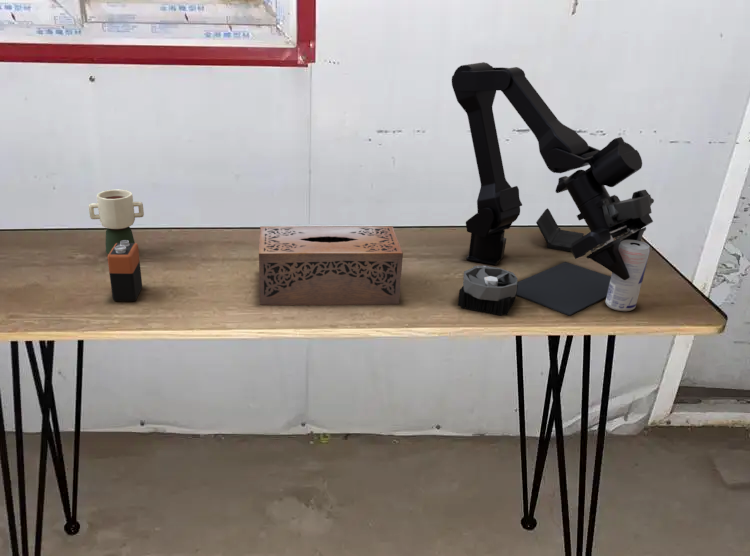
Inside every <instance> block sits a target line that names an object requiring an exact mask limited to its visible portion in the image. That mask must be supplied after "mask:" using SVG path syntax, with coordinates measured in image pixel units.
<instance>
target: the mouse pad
mask: <svg viewBox="0 0 750 556" xmlns="http://www.w3.org/2000/svg"><path fill="white" fill-rule="evenodd" d="M610 280H611V276H610V275H607V274H604V273H601V272H598V271H595V270H592V269H590V268H589V269H588V268H586V267H583V266H581V265H580V266H579V265H576V264H574V263H570V262H567V261H564V262H561V263H559V264H557V265H554V266H552V267H550V268H547V269H545V270H543V271H540V272H538V273H535V274H533V275H531V276H528V277H526V278H524V279H522V280H519V281H517V285H518V288H517V294H516V297H519V298H521V299H524V300H526V301H529V302H531V303H534V304H537V305H539V306H542V307H545V308H547V309H550V310H553V311H555V312H558V313H561V314H564V315H566V316H568V317H570V316H572V315H574V314H576V313H578V312H580V311H583V310H584V309H586V308H588V307H590V306H593V305H594V304H597V303H598V302H600V301H602V300H604V299H606V297H607V292H608V288H609V284H610Z"/></svg>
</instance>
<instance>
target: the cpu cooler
mask: <svg viewBox="0 0 750 556" xmlns="http://www.w3.org/2000/svg"><path fill="white" fill-rule="evenodd" d="M462 278H463V280H462V287H460V289H459V293H458V301H457V306H460V307H461V309H466V310H470V311H475V312H477V313H478V312H480V313H487V314H489V315H494V316H496V315H497V316H502V315H504V316H505V315H506V316H508V314H509V313H510V311H511V309H512V307H513V305H514V303H516V300H517V296H516V294H517V288H518V285H517V282H518V277H517V275H516V274H515V273H514V272H513V271H510V270H507V269H503V268H501V267H497V266H496V267H495V266H488V264H487V265H473V266H472V267H471V268H469V269H466V270H464V271H463V277H462Z"/></svg>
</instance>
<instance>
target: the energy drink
mask: <svg viewBox="0 0 750 556" xmlns="http://www.w3.org/2000/svg"><path fill="white" fill-rule="evenodd" d="M650 247H651V246H650V244H648V243H647V242H644V241H642V240H641V241H637V240H623V241H621V242H620V245H619V252H620V255H621V257H622V259H623V261H624V264H625V266H626V268H627V270H628V273H629V276H630V278H629V279H627V280H623V279H621V278H620V277H619V276H617V275H616V274H614V273H613V272H611V276H610V277H611V280H610V284H609V288H608V292H607V297H606V298H605V305H606V306H607V307H608V308H610V309H612V310H615V311H618V312H630V311H633V310H635V309H636V308H637V304H638V299H639V295H640V291H641V288H642V284H643V280H644V277H645V272H646V268H647V265H648V260H649V257H650V252H651V249H650Z"/></svg>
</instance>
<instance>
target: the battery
mask: <svg viewBox="0 0 750 556" xmlns="http://www.w3.org/2000/svg"><path fill="white" fill-rule="evenodd" d="M107 265H108V272H109V280H110V290H111V295H112V297H111V298H112V301H114V302H136V300H137V299H138V296H139V294H140V293H141V290H142V288H143V281H142V270H141V269H142V268H141V261H140V251H139V244H138V243H137V242H135V243H129V241H128V240H122V241H120V243H116V244H115V245H114V247H113V248H112V250H111V251H110V253H109V254H107Z"/></svg>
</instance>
